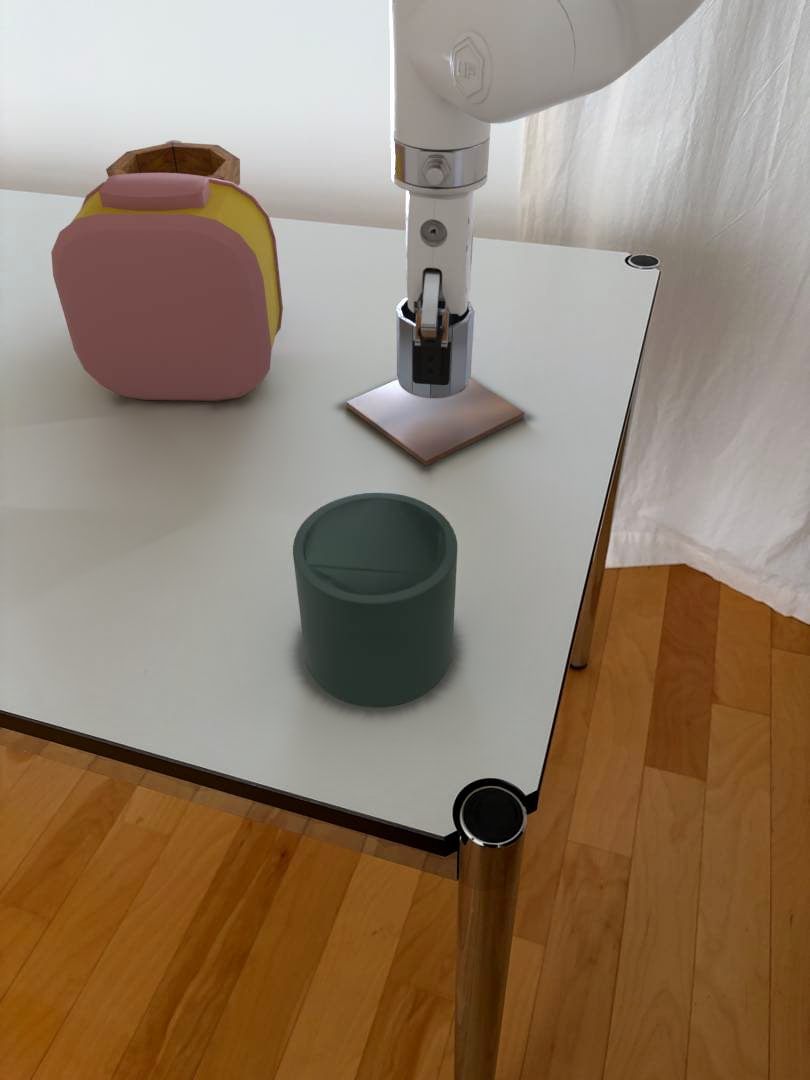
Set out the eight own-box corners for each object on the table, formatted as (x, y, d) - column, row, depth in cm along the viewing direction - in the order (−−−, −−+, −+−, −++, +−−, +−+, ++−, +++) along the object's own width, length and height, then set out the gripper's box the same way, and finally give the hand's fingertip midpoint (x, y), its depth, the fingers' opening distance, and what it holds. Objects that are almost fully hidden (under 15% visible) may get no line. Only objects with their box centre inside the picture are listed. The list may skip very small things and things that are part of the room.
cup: (484, 381, 82) (489, 312, 78) (429, 407, 79) (430, 336, 75) (437, 352, 86) (439, 284, 82) (383, 375, 83) (382, 306, 78)
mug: (261, 321, 98) (244, 183, 88) (135, 334, 96) (103, 194, 86) (247, 246, 112) (231, 119, 102) (137, 256, 110) (109, 128, 100)
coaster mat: (524, 417, 84) (524, 412, 84) (426, 466, 79) (426, 461, 79) (441, 365, 91) (441, 359, 91) (345, 406, 86) (345, 401, 85)
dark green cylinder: (483, 656, 63) (491, 552, 56) (364, 734, 58) (358, 630, 51) (391, 575, 69) (389, 472, 62) (276, 639, 64) (261, 535, 57)
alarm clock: (289, 350, 94) (270, 160, 81) (275, 409, 86) (251, 209, 72) (113, 348, 94) (66, 158, 81) (82, 407, 86) (24, 207, 73)
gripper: (483, 205, 63) (470, 417, 75) (492, 123, 76) (480, 315, 88) (377, 200, 63) (381, 411, 75) (404, 120, 76) (404, 311, 88)
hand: (434, 358), depth 81 cm, fingers closed on cup, 6 cm apart
